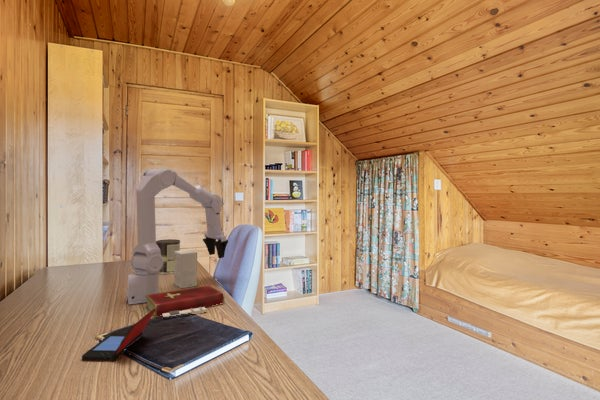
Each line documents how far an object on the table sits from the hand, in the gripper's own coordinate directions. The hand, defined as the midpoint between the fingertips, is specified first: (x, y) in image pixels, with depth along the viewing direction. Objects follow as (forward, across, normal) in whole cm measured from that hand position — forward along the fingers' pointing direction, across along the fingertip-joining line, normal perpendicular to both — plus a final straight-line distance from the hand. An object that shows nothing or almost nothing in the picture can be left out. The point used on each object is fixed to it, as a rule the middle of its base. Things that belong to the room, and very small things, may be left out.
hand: (216, 256), depth 135 cm
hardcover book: (+7, -22, +24) cm, 33 cm away
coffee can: (+10, +28, +10) cm, 31 cm away
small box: (+9, +1, +14) cm, 16 cm away
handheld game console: (+3, -40, +47) cm, 62 cm away
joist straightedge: (+6, -30, +27) cm, 41 cm away
